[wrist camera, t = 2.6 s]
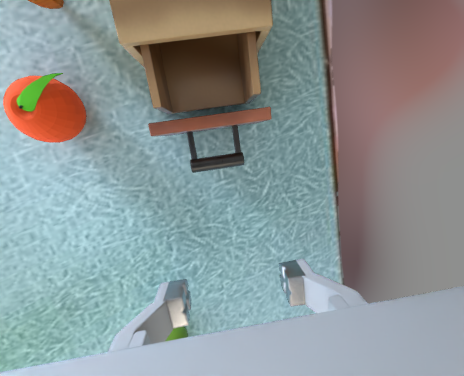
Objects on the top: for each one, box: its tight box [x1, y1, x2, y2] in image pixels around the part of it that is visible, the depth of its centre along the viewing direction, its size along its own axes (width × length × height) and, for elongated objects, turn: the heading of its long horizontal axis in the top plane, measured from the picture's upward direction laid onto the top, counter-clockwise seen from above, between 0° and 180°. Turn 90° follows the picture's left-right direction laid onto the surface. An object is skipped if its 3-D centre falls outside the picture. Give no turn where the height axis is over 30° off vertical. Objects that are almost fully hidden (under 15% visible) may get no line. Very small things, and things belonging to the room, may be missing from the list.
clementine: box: [3, 73, 86, 142], centre depth 24 cm, size 8×7×7 cm
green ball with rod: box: [165, 326, 188, 341], centre depth 30 cm, size 5×6×12 cm
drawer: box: [140, 31, 271, 173], centre depth 24 cm, size 19×12×7 cm, turn 8°
